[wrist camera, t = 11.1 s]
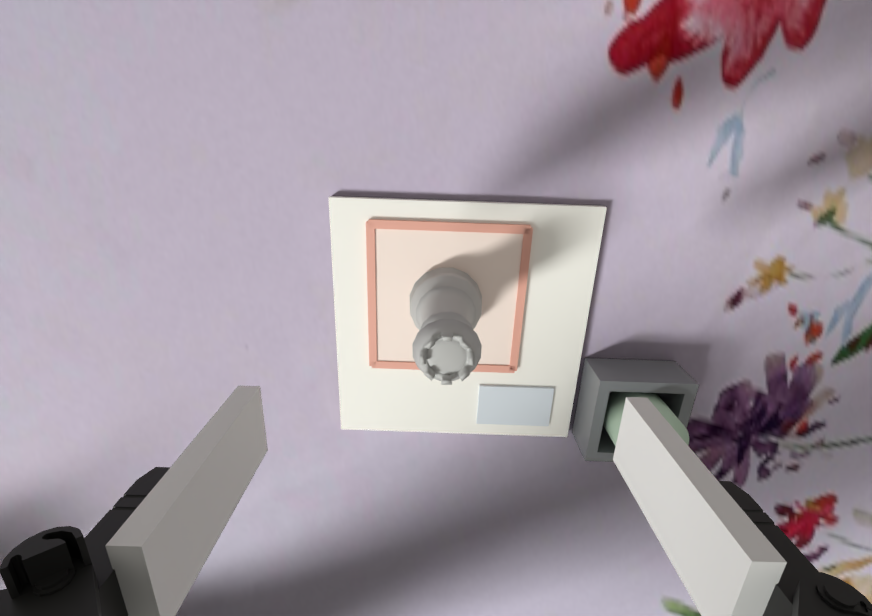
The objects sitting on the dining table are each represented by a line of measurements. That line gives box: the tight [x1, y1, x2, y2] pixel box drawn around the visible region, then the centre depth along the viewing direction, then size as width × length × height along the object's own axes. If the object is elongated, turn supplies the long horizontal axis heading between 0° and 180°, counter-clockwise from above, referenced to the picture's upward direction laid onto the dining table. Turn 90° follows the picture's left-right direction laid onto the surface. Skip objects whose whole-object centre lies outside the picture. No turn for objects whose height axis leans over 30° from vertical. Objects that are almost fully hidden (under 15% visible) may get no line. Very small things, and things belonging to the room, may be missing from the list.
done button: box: [603, 391, 689, 447], centre depth 27 cm, size 4×4×4 cm
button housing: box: [572, 358, 699, 462], centre depth 29 cm, size 6×6×3 cm
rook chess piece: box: [410, 268, 482, 385], centre depth 23 cm, size 4×4×8 cm
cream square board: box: [329, 196, 607, 437], centre depth 28 cm, size 16×16×1 cm
